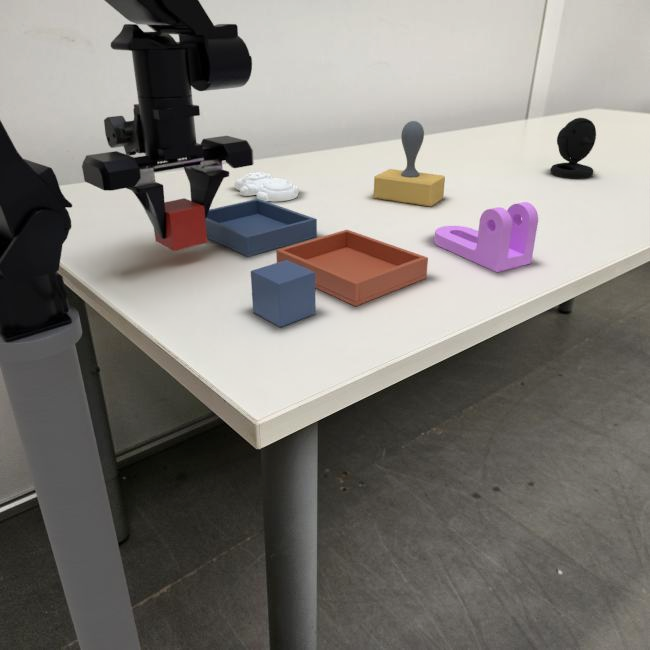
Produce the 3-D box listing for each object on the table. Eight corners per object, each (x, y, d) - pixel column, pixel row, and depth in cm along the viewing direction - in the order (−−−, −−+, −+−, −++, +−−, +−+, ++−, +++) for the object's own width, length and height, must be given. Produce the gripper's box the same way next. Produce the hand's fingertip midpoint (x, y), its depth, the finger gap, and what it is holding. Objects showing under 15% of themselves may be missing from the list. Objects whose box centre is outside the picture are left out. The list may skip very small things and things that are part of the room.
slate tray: (248, 256, 75) (246, 237, 74) (192, 231, 84) (190, 213, 83) (317, 237, 82) (316, 218, 80) (258, 215, 90) (258, 198, 89)
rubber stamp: (443, 198, 98) (450, 121, 93) (430, 207, 94) (437, 126, 89) (387, 190, 103) (391, 116, 97) (372, 198, 98) (375, 121, 93)
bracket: (531, 263, 73) (540, 206, 70) (497, 272, 70) (505, 213, 67) (457, 233, 83) (462, 182, 80) (425, 240, 80) (429, 187, 77)
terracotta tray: (355, 306, 62) (355, 283, 61) (276, 270, 71) (275, 249, 70) (426, 278, 69) (428, 257, 68) (346, 248, 78) (347, 229, 77)
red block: (174, 251, 71) (169, 213, 69) (155, 241, 74) (150, 204, 72) (207, 242, 73) (204, 205, 71) (188, 233, 76) (184, 198, 74)
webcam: (571, 167, 118) (581, 113, 113) (602, 176, 112) (614, 119, 107) (540, 172, 115) (549, 116, 110) (570, 180, 109) (581, 122, 104)
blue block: (280, 327, 58) (278, 284, 56) (252, 312, 61) (250, 270, 59) (315, 313, 61) (315, 272, 59) (287, 299, 64) (286, 259, 62)
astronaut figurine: (269, 182, 108) (269, 164, 107) (308, 196, 99) (308, 178, 98) (225, 189, 103) (224, 171, 102) (262, 205, 95) (261, 186, 93)
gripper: (201, 83, 77) (211, 205, 84) (50, 95, 66) (77, 234, 73) (252, 91, 69) (259, 223, 76) (92, 106, 58) (117, 259, 65)
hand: (180, 233), depth 73 cm, fingers closed on red block, 4 cm apart
